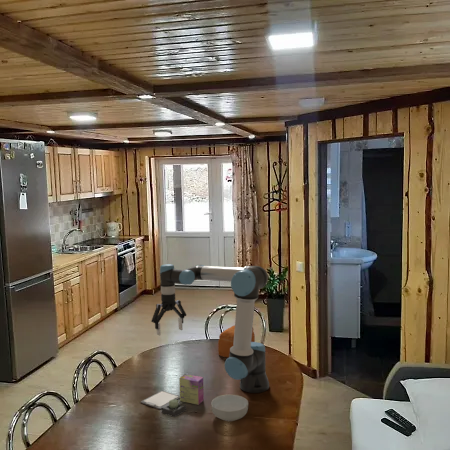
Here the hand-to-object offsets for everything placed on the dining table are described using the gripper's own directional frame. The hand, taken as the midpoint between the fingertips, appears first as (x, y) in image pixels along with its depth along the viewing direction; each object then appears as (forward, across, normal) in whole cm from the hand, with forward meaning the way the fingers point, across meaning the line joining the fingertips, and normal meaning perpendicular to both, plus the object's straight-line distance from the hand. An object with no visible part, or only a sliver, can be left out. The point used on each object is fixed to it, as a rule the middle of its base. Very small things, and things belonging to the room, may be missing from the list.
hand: (169, 332), depth 259 cm
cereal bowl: (+27, +1, +53) cm, 60 cm away
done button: (+24, +18, +32) cm, 44 cm away
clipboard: (+26, +17, +18) cm, 36 cm away
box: (+27, +6, +28) cm, 39 cm away
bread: (+27, -54, -12) cm, 62 cm away
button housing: (+26, +18, +32) cm, 45 cm away
